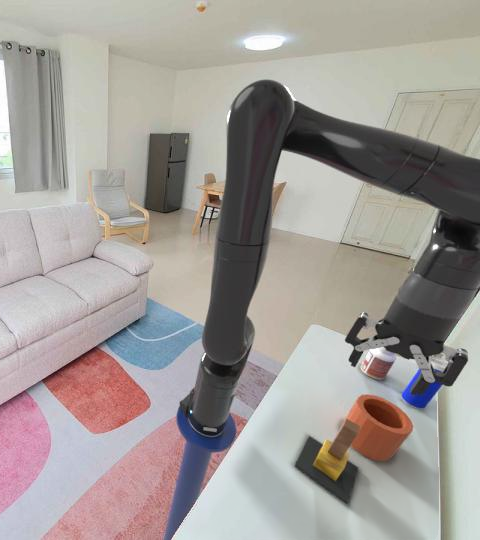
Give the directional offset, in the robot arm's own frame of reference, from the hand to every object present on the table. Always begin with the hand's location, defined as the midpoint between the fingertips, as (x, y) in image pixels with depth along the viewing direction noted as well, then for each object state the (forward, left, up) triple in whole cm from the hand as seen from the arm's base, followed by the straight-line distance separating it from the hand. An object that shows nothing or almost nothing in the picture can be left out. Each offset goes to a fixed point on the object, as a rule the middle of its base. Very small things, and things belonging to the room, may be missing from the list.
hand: (381, 377), depth 53 cm
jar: (+5, +15, -28) cm, 32 cm away
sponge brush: (0, 0, -28) cm, 28 cm away
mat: (0, 0, -28) cm, 28 cm away
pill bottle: (+2, +44, -28) cm, 52 cm away
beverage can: (+12, +39, -28) cm, 50 cm away
